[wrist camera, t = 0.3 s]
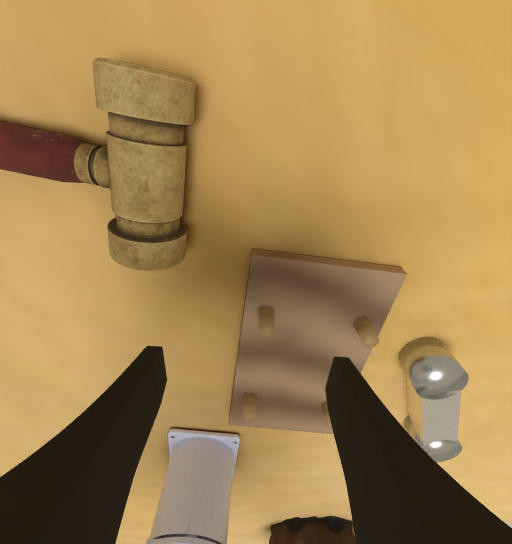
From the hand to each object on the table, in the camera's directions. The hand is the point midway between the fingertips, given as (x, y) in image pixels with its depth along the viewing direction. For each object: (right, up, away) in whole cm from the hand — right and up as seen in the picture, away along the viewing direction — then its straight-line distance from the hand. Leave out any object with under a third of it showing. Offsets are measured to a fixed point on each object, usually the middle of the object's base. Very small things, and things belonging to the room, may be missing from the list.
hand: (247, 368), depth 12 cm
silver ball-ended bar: (+17, -8, +16) cm, 24 cm away
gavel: (-14, +12, +5) cm, 19 cm away
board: (+4, -3, +13) cm, 15 cm away
